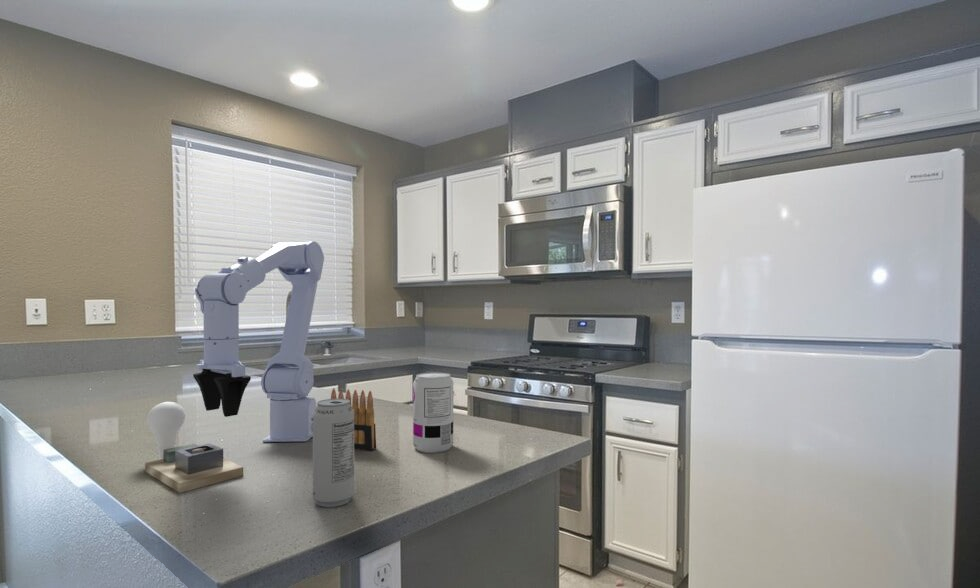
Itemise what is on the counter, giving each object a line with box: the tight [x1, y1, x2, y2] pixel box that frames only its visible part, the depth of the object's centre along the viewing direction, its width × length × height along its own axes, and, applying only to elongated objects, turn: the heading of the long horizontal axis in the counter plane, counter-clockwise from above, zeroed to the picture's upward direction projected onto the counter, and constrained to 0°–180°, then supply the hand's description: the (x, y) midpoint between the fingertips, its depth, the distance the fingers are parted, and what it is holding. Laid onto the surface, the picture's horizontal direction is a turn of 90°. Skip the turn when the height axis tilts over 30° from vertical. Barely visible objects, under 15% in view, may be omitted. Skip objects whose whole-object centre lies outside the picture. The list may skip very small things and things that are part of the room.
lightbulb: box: [146, 401, 186, 459], centre depth 97 cm, size 6×6×11 cm
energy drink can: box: [312, 398, 355, 508], centre depth 77 cm, size 6×6×15 cm
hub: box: [175, 442, 224, 475], centre depth 88 cm, size 6×6×3 cm
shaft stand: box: [144, 443, 244, 494], centre depth 89 cm, size 16×10×4 cm, turn 51°
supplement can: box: [412, 372, 454, 454], centre depth 104 cm, size 8×8×15 cm
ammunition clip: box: [330, 388, 377, 452], centre depth 105 cm, size 11×2×12 cm, turn 71°
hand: (221, 412), depth 93 cm, fingers open, 7 cm apart
